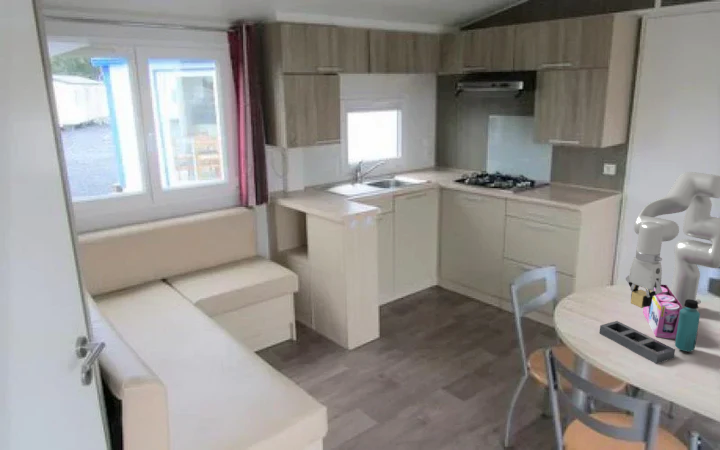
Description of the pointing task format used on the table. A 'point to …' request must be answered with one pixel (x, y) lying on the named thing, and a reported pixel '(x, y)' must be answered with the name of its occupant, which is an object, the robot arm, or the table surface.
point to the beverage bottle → (687, 326)
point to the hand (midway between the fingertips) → (640, 302)
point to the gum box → (663, 313)
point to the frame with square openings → (642, 345)
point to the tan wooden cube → (638, 298)
